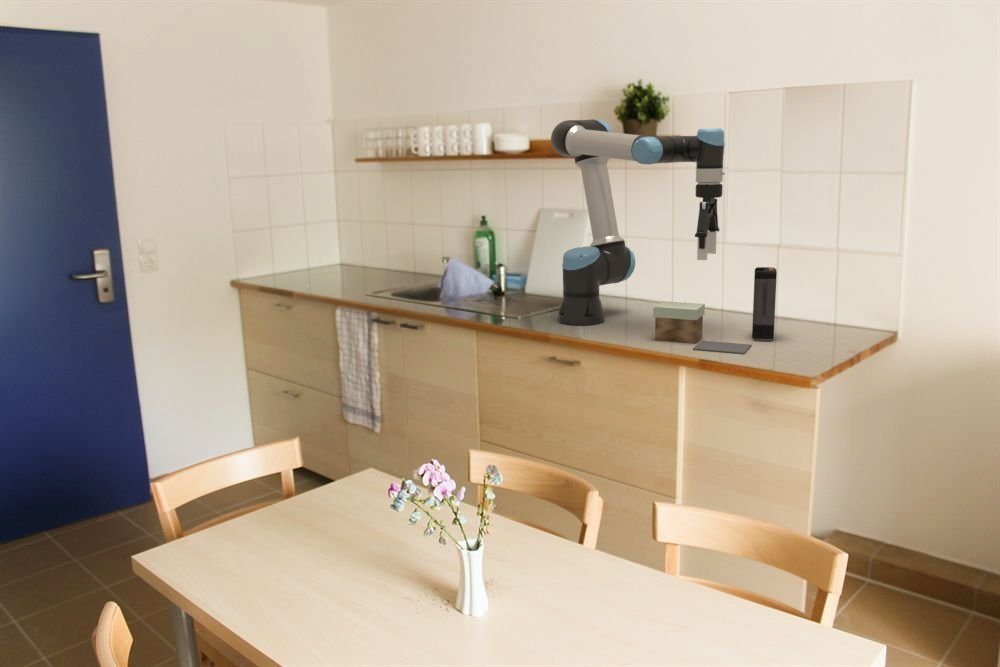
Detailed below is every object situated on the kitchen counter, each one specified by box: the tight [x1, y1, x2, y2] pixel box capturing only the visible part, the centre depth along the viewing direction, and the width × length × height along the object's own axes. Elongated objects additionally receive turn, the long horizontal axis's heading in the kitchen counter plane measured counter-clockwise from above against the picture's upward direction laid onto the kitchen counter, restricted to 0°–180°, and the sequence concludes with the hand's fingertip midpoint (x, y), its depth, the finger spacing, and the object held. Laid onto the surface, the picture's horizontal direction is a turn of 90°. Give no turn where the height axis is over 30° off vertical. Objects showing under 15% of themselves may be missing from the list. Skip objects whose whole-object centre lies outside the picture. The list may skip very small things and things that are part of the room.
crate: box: [654, 315, 704, 344], centre depth 245 cm, size 12×7×7 cm, turn 63°
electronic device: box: [751, 266, 778, 342], centre depth 243 cm, size 9×6×20 cm, turn 163°
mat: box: [692, 340, 753, 355], centre depth 235 cm, size 14×10×1 cm
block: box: [653, 301, 706, 320], centre depth 244 cm, size 12×9×4 cm
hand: (706, 256), depth 248 cm, fingers open, 13 cm apart
